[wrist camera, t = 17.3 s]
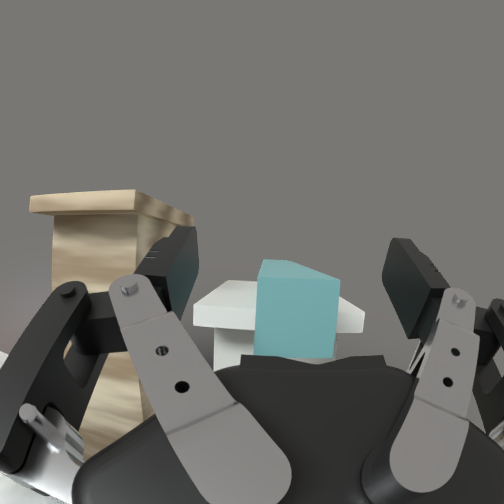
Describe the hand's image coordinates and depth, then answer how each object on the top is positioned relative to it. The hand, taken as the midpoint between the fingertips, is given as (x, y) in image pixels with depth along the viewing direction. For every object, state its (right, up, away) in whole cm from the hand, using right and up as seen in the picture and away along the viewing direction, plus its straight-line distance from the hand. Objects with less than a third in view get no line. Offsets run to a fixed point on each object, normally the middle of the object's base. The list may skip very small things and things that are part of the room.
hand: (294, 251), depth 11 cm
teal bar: (0, -4, +11) cm, 11 cm away
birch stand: (-17, -27, +18) cm, 37 cm away
